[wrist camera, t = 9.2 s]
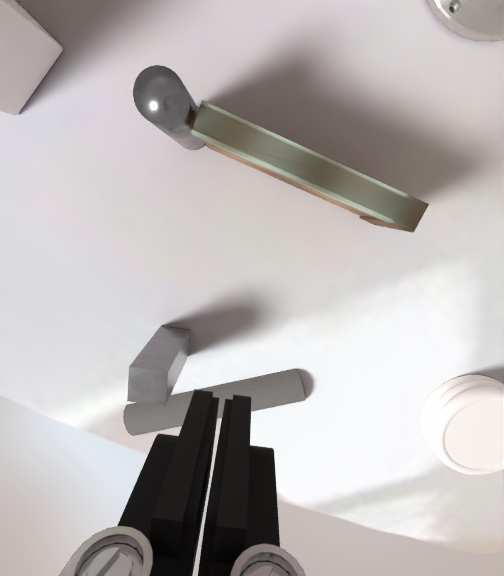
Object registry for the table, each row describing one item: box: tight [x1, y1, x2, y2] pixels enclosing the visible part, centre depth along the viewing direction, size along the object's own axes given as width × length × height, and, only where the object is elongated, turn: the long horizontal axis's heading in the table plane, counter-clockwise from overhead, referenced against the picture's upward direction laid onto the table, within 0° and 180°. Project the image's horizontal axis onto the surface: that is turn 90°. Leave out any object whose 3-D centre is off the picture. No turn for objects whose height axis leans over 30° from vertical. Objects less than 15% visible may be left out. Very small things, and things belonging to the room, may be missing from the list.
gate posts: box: [128, 65, 205, 406], centre depth 26 cm, size 3×23×10 cm, turn 172°
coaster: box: [420, 375, 504, 475], centre depth 34 cm, size 10×10×4 cm
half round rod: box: [123, 369, 305, 436], centre depth 35 cm, size 4×20×2 cm, turn 104°
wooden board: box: [191, 100, 429, 232], centre depth 25 cm, size 16×2×7 cm, turn 67°
